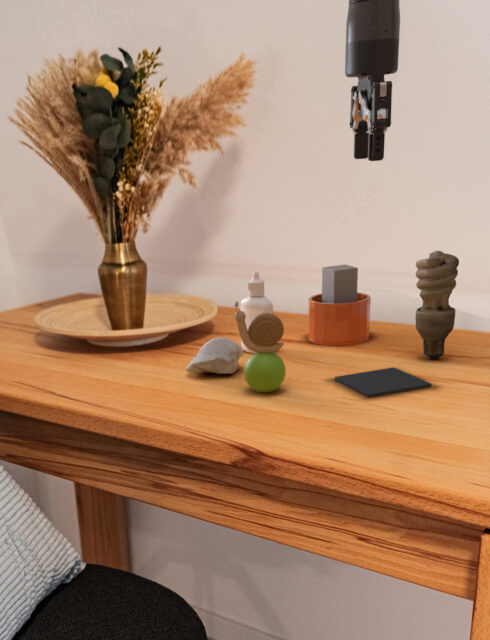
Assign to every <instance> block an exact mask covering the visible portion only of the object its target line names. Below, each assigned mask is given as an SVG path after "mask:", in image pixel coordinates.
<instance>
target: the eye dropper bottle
mask: <svg viewBox="0 0 490 640" xmlns="http://www.w3.org/2000/svg"><path fill="white" fill-rule="evenodd" d="M251 278H252V279H251V280H249V281H248V282H247V295H248V296H247V297H245V298H243V299H242V300H241V302H240V306H239V307H240V310H239V311H243V312H244V313H245V315H246V318H245V323H246V327H247V330H248V328H249V325H250V323H251V321H252V320H253V319H254V318H255V317H256V316H258V315H260V314H263V313H270V314H274V304H273V303H272V301H271V300H270V299H269V298H268V297H266V296H265V281H264V280H262V279H261V278H260V275H259V271H253V273H252V277H251ZM240 347H241V348H242V350H243V352H247V353H251V354H255V353H256V352H254V351H252V350H250V349H248V348H247V347H246V346H245V345H244V343H243V342H242V339H241V338H240Z"/></svg>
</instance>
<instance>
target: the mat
mask: <svg viewBox="0 0 490 640" xmlns="http://www.w3.org/2000/svg"><path fill="white" fill-rule="evenodd" d="M334 381H335V382H337V383H339V384H341V385H342V386H344V387H346V388H349V389H350V390H352V391H354V392H356V393H357V394H359V395H362V396H364V397H366V398H367V399H370V398H376V397H383V396H388V395H389V396H390V395H395V394H401V393H406V392H412V391H413V392H414V391H418V390H423V389H428V388H429V389H430V388H432V383H431V382H430V381H429V382H428V381H426V380H424V379H422V378H419V377H417V376H415V375H412V374H411V373H408V372H406V371H403V370H400V369H398V368H397V367H387V368H382V369H375V370H369V371H363V372H357V373H351V374H345V375H344V374H343V375H339V376H334Z"/></svg>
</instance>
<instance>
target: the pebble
mask: <svg viewBox="0 0 490 640" xmlns="http://www.w3.org/2000/svg"><path fill="white" fill-rule="evenodd" d="M241 357H244V350H243V349H242V347H241V345H240V344H238V342H236V341H235V340H233V339H232V338H228V337H220V336H219V337H215V338H212V339H210V340H209V341H207V342H205V343H204V344H203V345H202V346H201V347H200V348H199V350H198V353H197V354H195V355H194V357H193V358H192V359H191V361H190V362H189V364H187V366H186V368H185V369H186V372H187V373H215V374H221V375H222V374H224V375H225V374H234V373H235V372H236V371H237V370H238V368H239V366H240V365H239V360H240V358H241Z"/></svg>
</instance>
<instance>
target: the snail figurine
mask: <svg viewBox="0 0 490 640" xmlns="http://www.w3.org/2000/svg"><path fill="white" fill-rule="evenodd" d="M234 307H235V313H234V317H235V318H234V319H235V321H236V325H237V330H238V333H239V337H240V340H241V339H242V342H243V343H244V345H245V346H246V347H247V348H248V349H250V350H252V351H254V352H256V353H253V354H252V355H250V357H249V358H248V359H247V361H246V362H245V365H244V368H243V377H244V381H245V382H246V384H247V385H248V387H249V388H250V389H252V390H253V391H254V392H257V393H263V394H265V393H271V392H274V391H276V390H277V389H278V388H279V387H280V386H282V384H283V383H284V380H285V377H286V374H287V373H286V372H287V371H286V366H285V362H284V361H283V359H282V358H281V356H279V354H277V353H276V352H278V351H279V350H280V349H282V347H283V346H284V345H285V344H284V341H283V342H282V341H281V339H282V338H283V336H284V331H285V329H284V323H283V322H282V320H281V319H280V317H279V316H277V315H276V314H274V313H273V314H270V313H263V314H260V315H258V316H256V317H255V318H254V319H253V320H252V321H251V323H250V325H249V328H248V330H247V327H246V323H245V318H246V315H245V313H244V312H243V311H240V310H238V309H237V308H238V307H239V302H238V301H235V302H234ZM280 341H281V342H280Z"/></svg>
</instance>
